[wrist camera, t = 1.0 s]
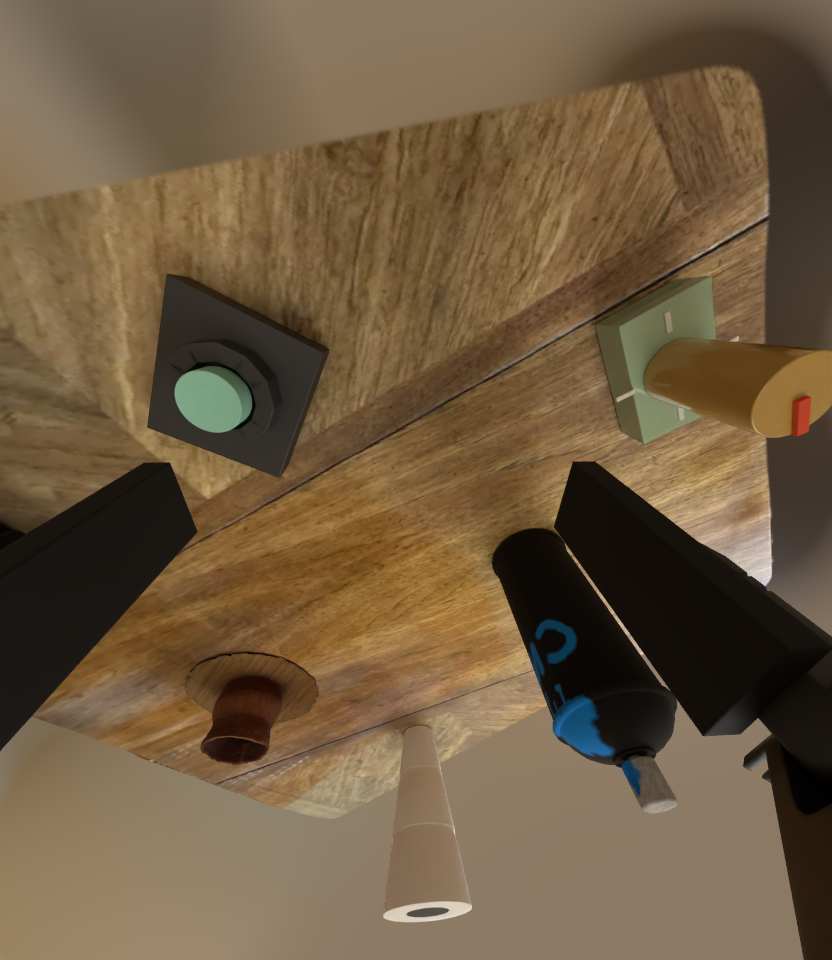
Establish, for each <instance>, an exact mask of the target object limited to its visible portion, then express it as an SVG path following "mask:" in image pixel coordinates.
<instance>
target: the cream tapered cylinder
mask: <svg viewBox="0 0 832 960" xmlns="http://www.w3.org/2000/svg"><path fill="white" fill-rule="evenodd" d="M471 909H472V904H471V899H470V895H469V890H468V886H467V881H466V877H465V873H464V868H463V864H462V859H461V855H460V850H459V846H458V842H457V839H456V836H455V828H454V824H453V820H452V816H451V811H450V807H449V802H448V798H447V794H446V789H445V785H444V780H443V778H442V771H441V766H440V762H439V757H438V753H437V748H436V744H435V739H434V735H433V731H432V729H431V728H429V727H427V726H414V727H411V728H409V729H407V730H406V731H405V733H404V742H403V751H402V759H401V768H400V781H399V786H398V795H397V803H396V812H395V819H394V828H393V843H392V845H391V853H390V861H389V870H388V879H387V886H386V895H385V903H384V912H383V917H384V918H385V919H387V920H390V921H397V922H424V921H434V920H441V919H446V918H451V917H455V916H459V915H462V914H464V913H467V912H468V911H470V910H471Z"/></svg>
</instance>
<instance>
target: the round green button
mask: <svg viewBox="0 0 832 960" xmlns="http://www.w3.org/2000/svg"><path fill="white" fill-rule="evenodd" d="M175 400H176V403H177V406H178V408H179V410H180V411H181V413H182V414H183V415H184V417H185V418H186V419H187V420H188V421H190V422H191V423H192V424H193V425H195V426H197V427H198V428H200V429H203V430H205V431H209V432H215V433H221V432H226V431H229V430H231V429H233V428H234V427H236V426H237V425H239V424H240V423H241V422H243V421H244V420H245V419H246V418H247V417H248V416H249V414H250V413H251V410H252V396H251V393H250V391H249V389H248V387H247V385H246V384H245V382H244V381H243V380H242V379H241V378H240V377H239V376H238V375H236V374H235V373H233V372H232V371H230V370H228V369H226V368H223V367H219V366H207V367H203V368H200V369H196V370H193V371H190V372H187V373H185V374H184V375H182V376H181V377H180V378H179V380H178V381H177V383H176V386H175Z"/></svg>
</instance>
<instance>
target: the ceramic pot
mask: <svg viewBox="0 0 832 960" xmlns="http://www.w3.org/2000/svg"><path fill="white" fill-rule="evenodd" d="M188 675H189V676H190V677H189V679H187V682H186V683H185V684H186V687H185V688H186V689H187V690H186V693H187V694H188V696H189V697H190V698H192V699H193V700H194V701H195V702H196V703H198V705H199V706H201V707H202V708H204V709H206V710H207V711H209V712H211V713H213V715H212V719H213V726H212V729H211V730H210V732H209V733H208V734H207V736H206V737H205V739H204V740H203V741H202V743H201V751H202V753H205V754H207V755H208V756H209V757H210V758H211V759H214V760H216V761H217V762H222V763H227V764H233V765H236V764H242V763H248V762H253V761H258V760H260V759H261V758H262V757H263V756H264V755H265V754H267V752H268V749H269V740H270V730H271V728H272V726H273V725H274V723H277V722H284V721H287V720H290V719H295V718H296V717H298V716H299V715H303V714H304V713H307V712H308V711H310V708H311V707H312V705H313V704H314V703H315V702H316V700H315V698H316V697H317V696H318V695H317V694H318V687H316V684H315V680H314V678H313V677H310V676H308V674H307V673H306V672H305V671H304V670H302V669H300V668H298V666H297V665H294V664H291V663H290V662H287V661H286V660H285V659H284V658H282V657H279V658H274V657H272V656H264V655H261V654H247V653H243V654H232V656H230V657H229V656H226V655H223V656H220V657H217V658H216V659H214V660H209V661H204V663H201V664H199V665H197V666H196V668H195V669H193V671H192V672H191V673H188Z"/></svg>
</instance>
